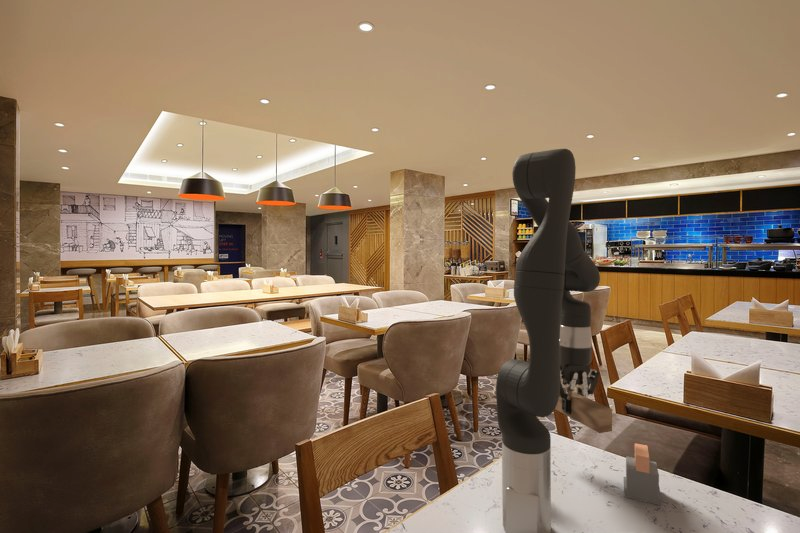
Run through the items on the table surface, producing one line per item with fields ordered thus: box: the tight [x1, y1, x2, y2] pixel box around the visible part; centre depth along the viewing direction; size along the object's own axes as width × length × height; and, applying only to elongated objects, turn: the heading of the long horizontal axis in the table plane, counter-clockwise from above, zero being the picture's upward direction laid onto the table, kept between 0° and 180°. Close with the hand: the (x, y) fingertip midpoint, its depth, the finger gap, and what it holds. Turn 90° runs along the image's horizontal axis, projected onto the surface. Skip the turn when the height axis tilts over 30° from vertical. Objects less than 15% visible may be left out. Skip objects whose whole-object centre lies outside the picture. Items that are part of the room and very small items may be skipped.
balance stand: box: [623, 442, 663, 506], centre depth 90 cm, size 6×7×10 cm
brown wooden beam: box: [554, 391, 613, 434], centre depth 99 cm, size 20×4×5 cm, turn 17°
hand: (574, 412), depth 99 cm, fingers closed on brown wooden beam, 3 cm apart
